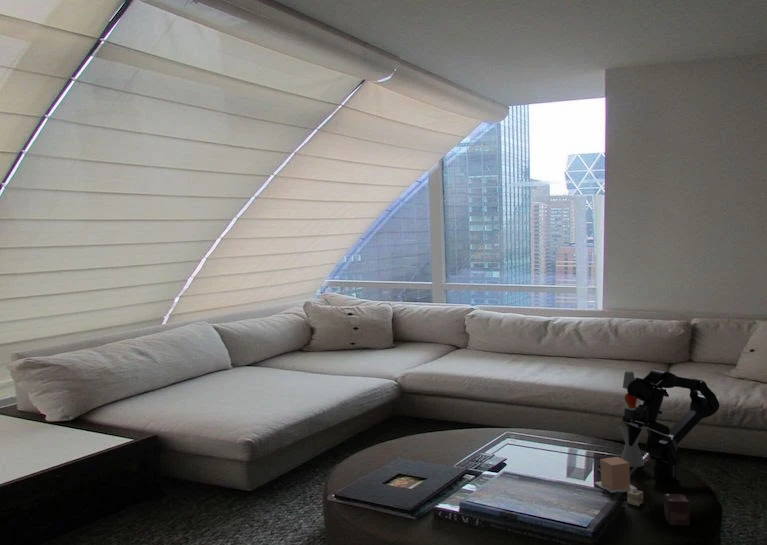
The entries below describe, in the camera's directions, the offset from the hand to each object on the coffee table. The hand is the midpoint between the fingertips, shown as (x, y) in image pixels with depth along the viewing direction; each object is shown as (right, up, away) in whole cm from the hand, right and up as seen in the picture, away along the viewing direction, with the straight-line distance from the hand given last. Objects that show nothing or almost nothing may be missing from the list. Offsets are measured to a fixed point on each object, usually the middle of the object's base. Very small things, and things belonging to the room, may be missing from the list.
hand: (638, 448), depth 225 cm
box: (+1, -15, -28) cm, 32 cm away
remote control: (-5, -13, +12) cm, 18 cm away
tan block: (-7, -13, +1) cm, 15 cm away
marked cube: (-6, -14, -13) cm, 20 cm away
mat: (-7, -13, +1) cm, 15 cm away
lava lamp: (+7, -12, +23) cm, 27 cm away
